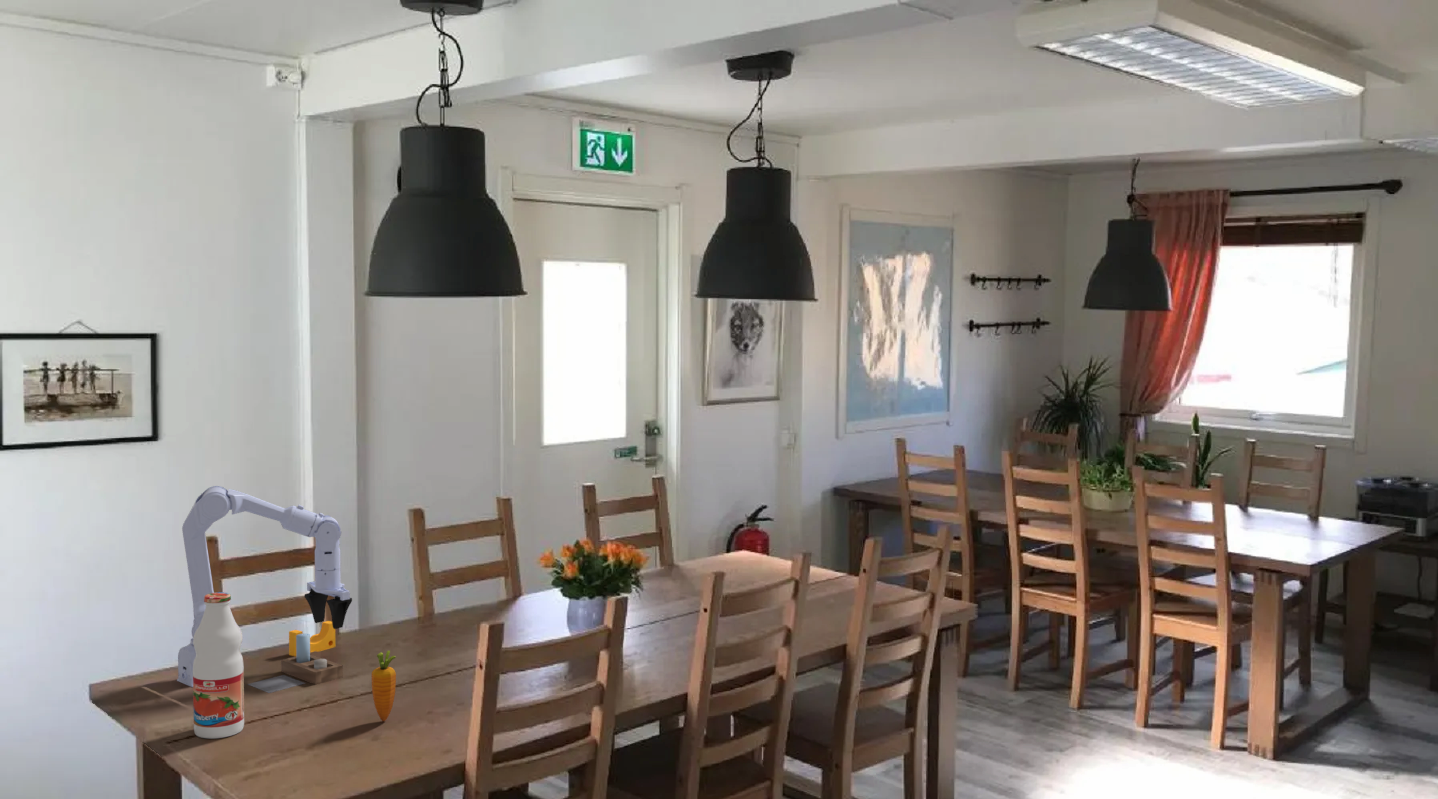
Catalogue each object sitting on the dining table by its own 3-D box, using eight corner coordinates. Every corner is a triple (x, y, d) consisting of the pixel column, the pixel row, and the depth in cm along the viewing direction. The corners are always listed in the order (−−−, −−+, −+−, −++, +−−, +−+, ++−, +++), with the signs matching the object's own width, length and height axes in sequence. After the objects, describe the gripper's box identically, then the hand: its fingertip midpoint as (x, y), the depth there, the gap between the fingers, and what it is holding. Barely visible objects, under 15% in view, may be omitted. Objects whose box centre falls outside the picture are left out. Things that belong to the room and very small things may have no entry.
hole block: (315, 686, 266) (315, 667, 265) (281, 673, 274) (281, 654, 274) (342, 678, 271) (342, 660, 271) (308, 666, 280) (308, 648, 279)
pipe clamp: (323, 644, 298) (323, 619, 298) (335, 647, 296) (335, 622, 296) (284, 656, 288) (284, 630, 288) (296, 659, 286) (295, 633, 285)
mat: (269, 694, 259) (269, 692, 259) (247, 685, 265) (247, 684, 265) (305, 684, 266) (305, 683, 266) (283, 676, 272) (283, 674, 272)
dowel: (301, 675, 273) (301, 637, 272) (293, 673, 274) (293, 635, 274) (312, 672, 275) (312, 635, 274) (305, 670, 277) (304, 632, 276)
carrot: (386, 715, 248) (386, 646, 247) (401, 721, 245) (401, 650, 243) (366, 721, 244) (366, 651, 243) (380, 727, 241) (380, 655, 240)
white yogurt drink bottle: (252, 724, 241) (251, 590, 239) (229, 740, 232) (228, 601, 230) (209, 721, 242) (207, 588, 240) (184, 738, 233) (182, 599, 230)
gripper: (360, 570, 275) (361, 626, 276) (324, 561, 284) (325, 616, 285) (334, 575, 269) (335, 633, 270) (298, 565, 278) (299, 622, 279)
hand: (328, 625), depth 277 cm, fingers open, 7 cm apart
